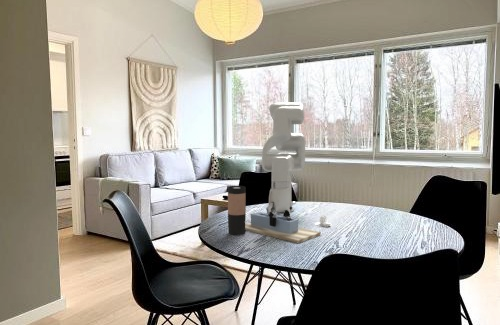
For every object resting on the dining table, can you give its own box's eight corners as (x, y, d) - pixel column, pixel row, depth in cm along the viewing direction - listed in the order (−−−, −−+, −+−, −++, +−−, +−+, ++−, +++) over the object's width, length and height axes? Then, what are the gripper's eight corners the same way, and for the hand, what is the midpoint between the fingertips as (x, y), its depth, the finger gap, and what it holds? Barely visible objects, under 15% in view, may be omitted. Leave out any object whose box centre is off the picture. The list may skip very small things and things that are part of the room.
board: (263, 222, 184) (263, 207, 183) (320, 234, 162) (320, 218, 161) (239, 228, 172) (239, 212, 171) (298, 243, 150) (298, 225, 150)
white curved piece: (331, 228, 175) (332, 219, 174) (314, 227, 176) (314, 218, 176) (331, 223, 183) (332, 215, 183) (314, 222, 185) (315, 214, 184)
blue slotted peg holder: (259, 222, 179) (259, 211, 178) (298, 231, 164) (298, 219, 163) (250, 224, 174) (250, 213, 174) (289, 233, 159) (289, 222, 159)
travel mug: (224, 232, 165) (224, 186, 163) (238, 229, 170) (238, 185, 168) (235, 236, 159) (235, 188, 158) (249, 233, 164) (249, 187, 163)
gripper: (285, 182, 174) (285, 219, 175) (260, 186, 161) (260, 226, 163) (299, 183, 169) (298, 221, 170) (274, 188, 156) (274, 229, 157)
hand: (279, 224), depth 166 cm, fingers open, 9 cm apart
